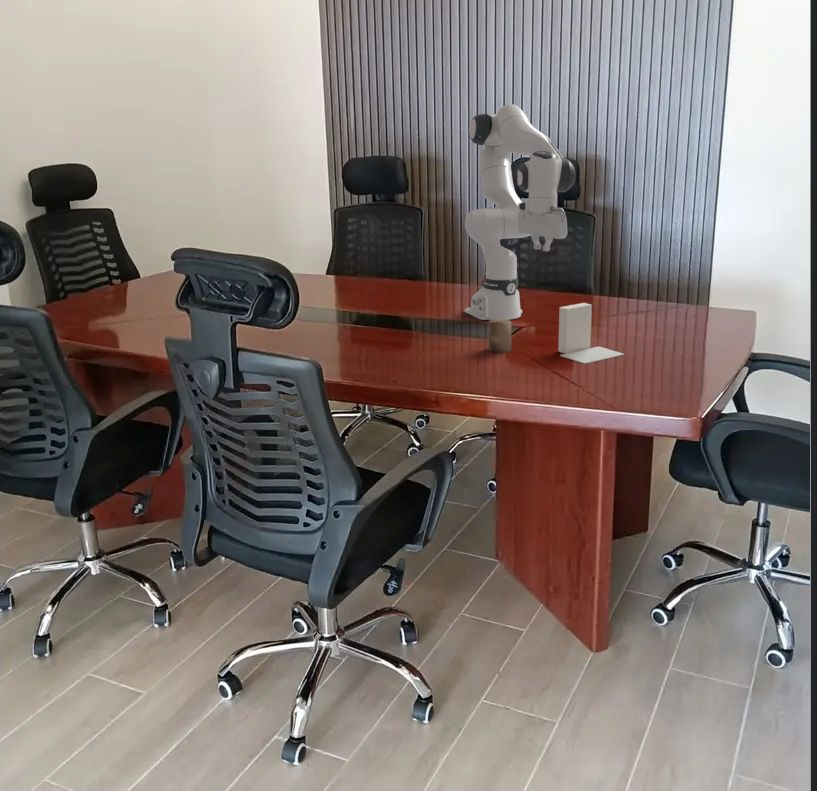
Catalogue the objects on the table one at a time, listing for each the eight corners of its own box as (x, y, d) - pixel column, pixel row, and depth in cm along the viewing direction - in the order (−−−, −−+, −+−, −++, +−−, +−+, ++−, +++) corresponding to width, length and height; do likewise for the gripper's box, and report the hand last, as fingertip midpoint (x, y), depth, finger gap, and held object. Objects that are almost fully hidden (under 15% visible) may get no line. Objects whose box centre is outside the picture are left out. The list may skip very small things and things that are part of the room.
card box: (558, 351, 273) (559, 307, 269) (582, 346, 278) (584, 302, 274) (565, 353, 271) (567, 309, 266) (590, 348, 275) (591, 304, 271)
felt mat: (560, 355, 268) (560, 354, 268) (599, 347, 276) (599, 346, 276) (584, 364, 260) (584, 363, 259) (624, 354, 267) (624, 354, 267)
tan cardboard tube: (484, 349, 278) (484, 321, 276) (501, 345, 282) (502, 318, 279) (497, 353, 273) (497, 325, 270) (515, 350, 276) (515, 322, 273)
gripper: (573, 207, 267) (571, 253, 272) (529, 202, 284) (529, 245, 288) (557, 209, 264) (555, 255, 269) (514, 203, 281) (514, 247, 285)
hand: (541, 250), depth 279 cm, fingers open, 3 cm apart
